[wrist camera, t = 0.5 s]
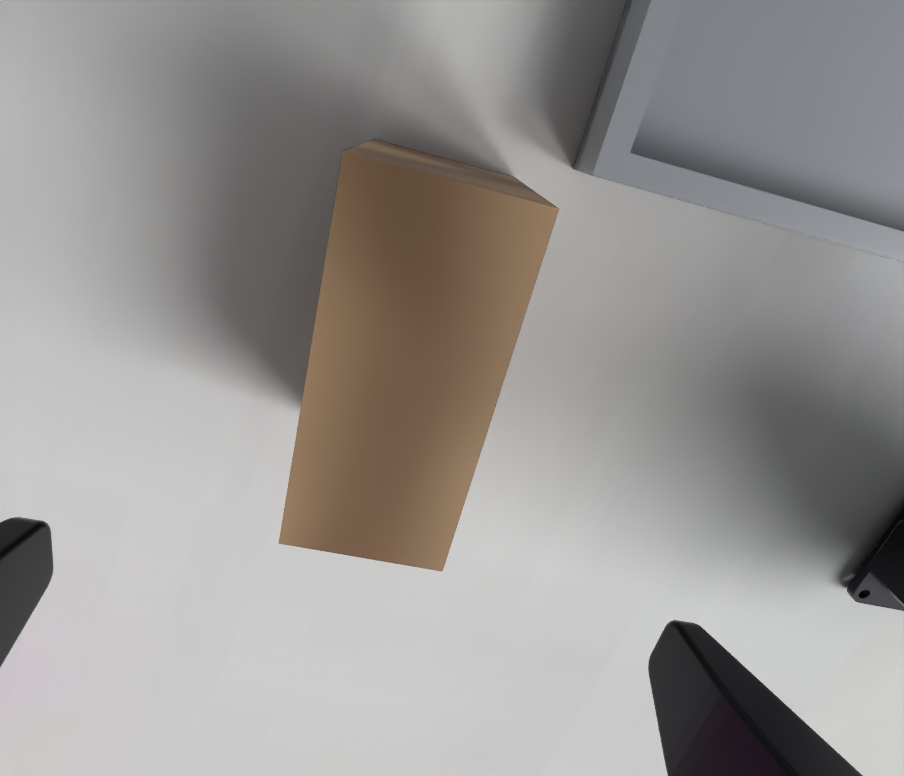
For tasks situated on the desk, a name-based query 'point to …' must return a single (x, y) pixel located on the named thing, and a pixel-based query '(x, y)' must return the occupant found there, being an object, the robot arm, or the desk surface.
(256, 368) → the desk surface
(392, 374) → the walnut block
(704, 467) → the desk surface
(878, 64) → the slot tray
